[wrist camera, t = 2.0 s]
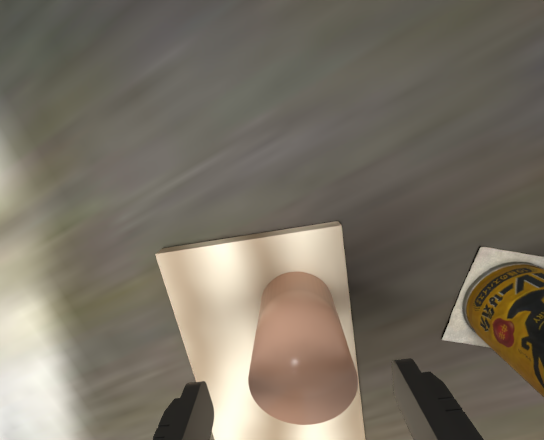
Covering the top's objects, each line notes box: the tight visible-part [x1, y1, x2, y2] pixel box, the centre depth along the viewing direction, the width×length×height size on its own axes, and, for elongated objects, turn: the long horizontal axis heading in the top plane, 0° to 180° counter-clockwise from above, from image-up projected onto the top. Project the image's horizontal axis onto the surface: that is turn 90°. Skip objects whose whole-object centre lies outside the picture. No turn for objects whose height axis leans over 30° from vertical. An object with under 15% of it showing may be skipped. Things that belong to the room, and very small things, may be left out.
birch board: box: [155, 221, 365, 440], centre depth 20 cm, size 12×30×1 cm, turn 10°
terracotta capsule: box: [248, 272, 358, 425], centre depth 14 cm, size 5×5×6 cm
